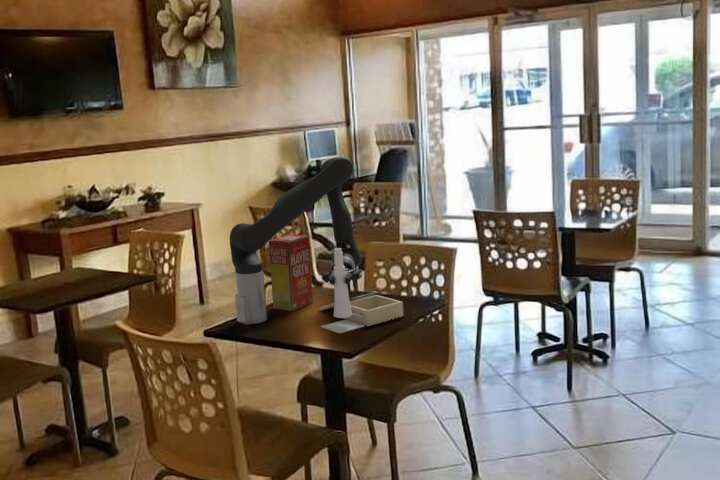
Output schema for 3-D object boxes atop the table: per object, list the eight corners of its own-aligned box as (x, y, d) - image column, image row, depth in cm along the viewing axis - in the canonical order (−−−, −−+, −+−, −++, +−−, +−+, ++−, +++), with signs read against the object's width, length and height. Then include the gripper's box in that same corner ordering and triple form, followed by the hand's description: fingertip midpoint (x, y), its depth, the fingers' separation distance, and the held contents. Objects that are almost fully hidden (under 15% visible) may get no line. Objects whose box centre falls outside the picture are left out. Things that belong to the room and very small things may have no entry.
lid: (319, 307, 272) (320, 309, 272) (339, 300, 261) (340, 303, 261) (352, 299, 280) (353, 301, 280) (373, 292, 270) (374, 294, 270)
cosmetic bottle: (348, 311, 254) (343, 245, 250) (355, 315, 249) (350, 248, 245) (331, 314, 252) (325, 248, 248) (337, 319, 247) (332, 251, 242)
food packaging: (293, 311, 273) (287, 241, 268) (271, 309, 278) (266, 240, 273) (314, 302, 284) (310, 234, 279) (293, 299, 289) (288, 233, 284)
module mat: (339, 333, 244) (339, 332, 244) (321, 327, 252) (321, 326, 252) (364, 326, 250) (364, 325, 250) (346, 320, 258) (346, 319, 258)
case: (365, 326, 249) (364, 309, 248) (338, 318, 261) (336, 301, 260) (403, 316, 259) (402, 299, 258) (375, 308, 271) (374, 291, 270)
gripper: (321, 259, 262) (316, 271, 245) (363, 256, 261) (361, 268, 244) (323, 280, 263) (318, 294, 246) (364, 278, 262) (362, 291, 246)
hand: (339, 281), depth 245 cm, fingers closed on cosmetic bottle, 4 cm apart
